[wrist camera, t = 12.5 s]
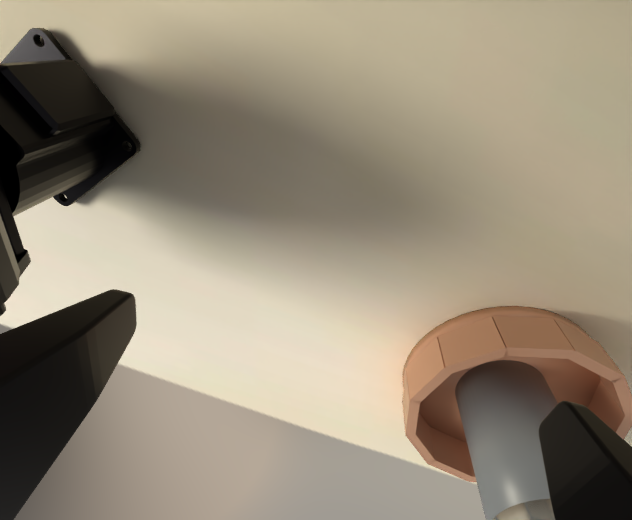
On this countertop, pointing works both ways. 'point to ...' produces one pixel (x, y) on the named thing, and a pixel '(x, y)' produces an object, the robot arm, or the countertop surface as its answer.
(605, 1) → the countertop surface
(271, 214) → the countertop surface
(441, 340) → the terracotta bowl
